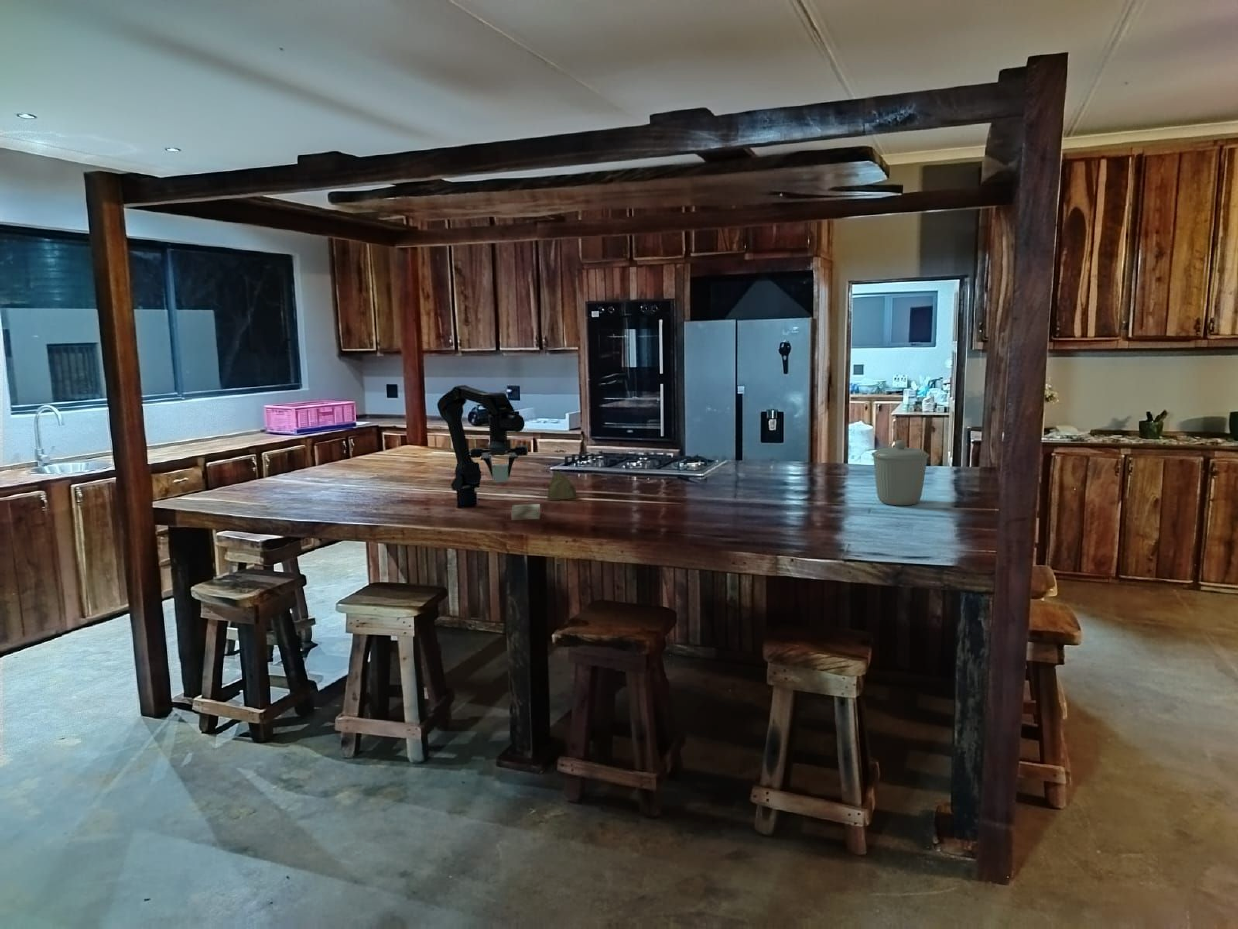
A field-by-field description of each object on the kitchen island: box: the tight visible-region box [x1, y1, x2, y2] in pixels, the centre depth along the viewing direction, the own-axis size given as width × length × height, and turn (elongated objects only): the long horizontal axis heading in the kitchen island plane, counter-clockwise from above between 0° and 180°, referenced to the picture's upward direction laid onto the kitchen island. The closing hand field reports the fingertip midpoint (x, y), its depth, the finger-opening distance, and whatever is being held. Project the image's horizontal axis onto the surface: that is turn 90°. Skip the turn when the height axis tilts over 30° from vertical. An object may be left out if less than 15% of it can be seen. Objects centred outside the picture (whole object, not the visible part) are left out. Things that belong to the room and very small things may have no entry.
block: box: [492, 464, 510, 483], centre depth 271 cm, size 5×5×5 cm
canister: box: [870, 439, 930, 507], centre depth 268 cm, size 18×18×21 cm
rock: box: [546, 471, 579, 501], centre depth 293 cm, size 11×9×10 cm
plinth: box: [510, 503, 541, 521], centre depth 266 cm, size 9×9×3 cm
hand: (500, 477), depth 271 cm, fingers closed on block, 5 cm apart
